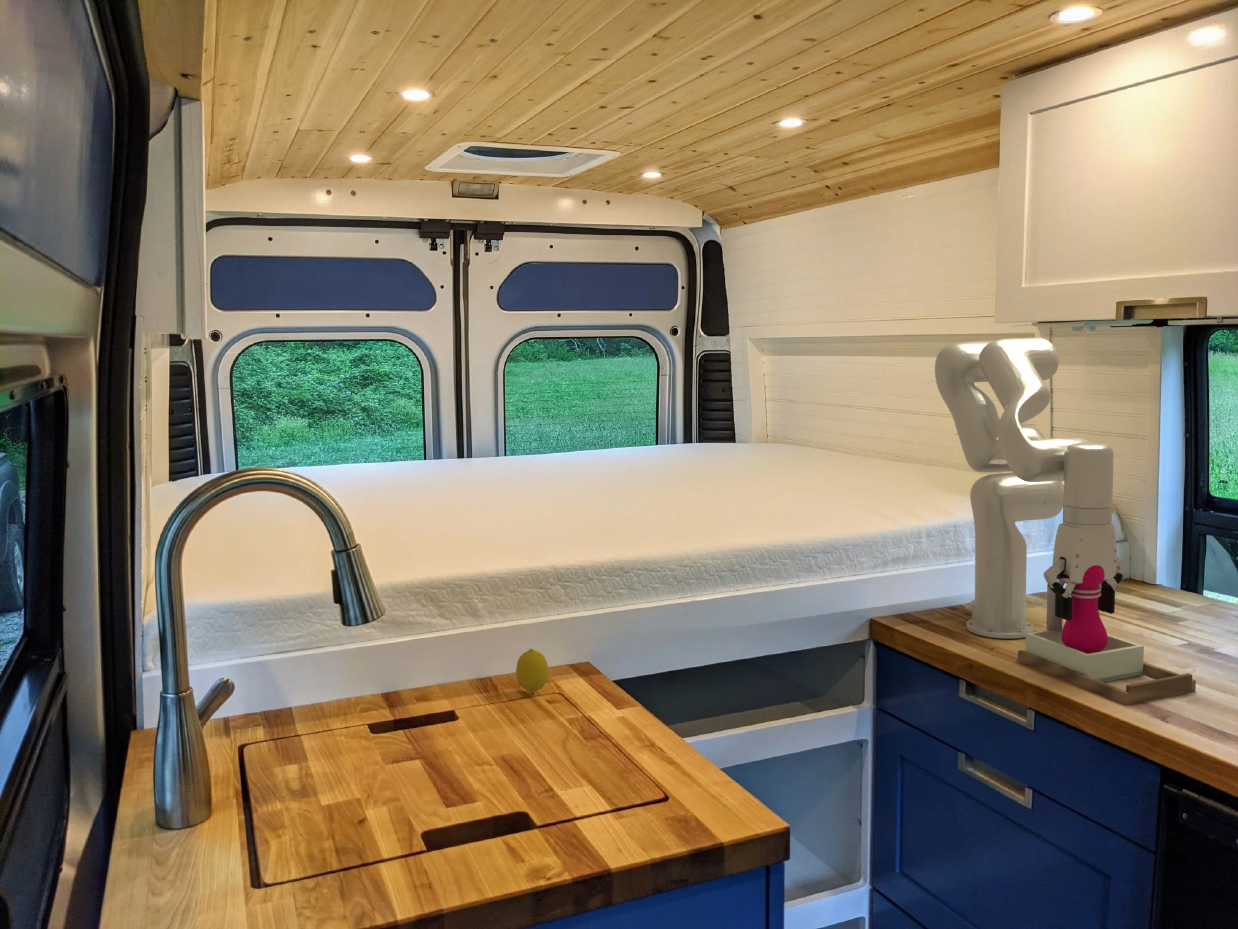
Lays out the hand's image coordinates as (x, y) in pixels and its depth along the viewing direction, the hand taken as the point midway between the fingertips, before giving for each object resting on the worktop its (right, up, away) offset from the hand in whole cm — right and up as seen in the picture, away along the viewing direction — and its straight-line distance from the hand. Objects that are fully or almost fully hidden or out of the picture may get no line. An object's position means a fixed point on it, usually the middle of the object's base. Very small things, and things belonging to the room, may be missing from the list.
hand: (1084, 614), depth 166 cm
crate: (0, -9, +1) cm, 9 cm away
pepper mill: (0, -9, +1) cm, 9 cm away
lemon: (-95, -14, +2) cm, 96 cm away
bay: (+2, -11, -2) cm, 11 cm away
